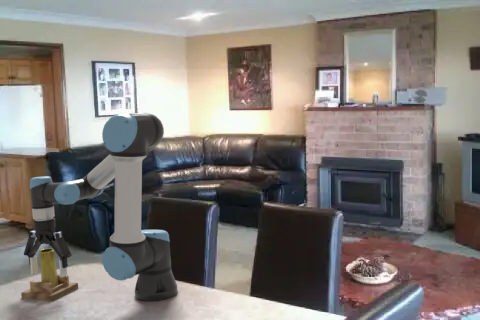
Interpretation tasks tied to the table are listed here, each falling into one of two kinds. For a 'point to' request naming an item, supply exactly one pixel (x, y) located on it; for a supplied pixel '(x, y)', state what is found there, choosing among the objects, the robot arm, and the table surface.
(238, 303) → the table surface
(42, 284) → the holder
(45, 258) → the vase
